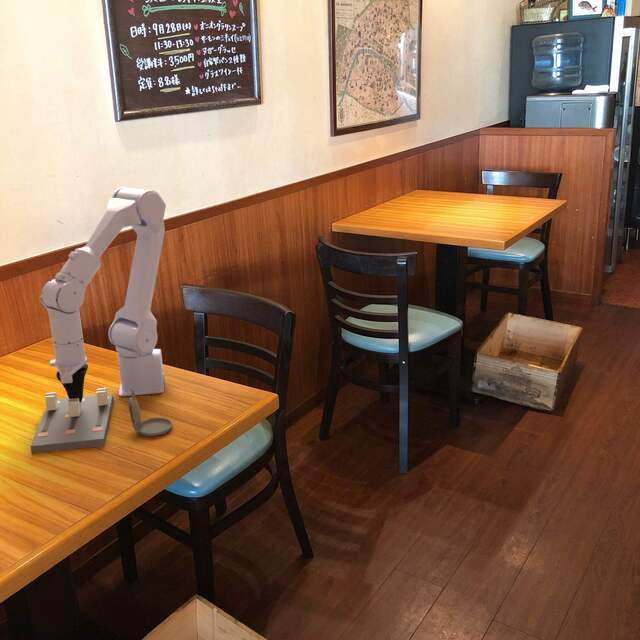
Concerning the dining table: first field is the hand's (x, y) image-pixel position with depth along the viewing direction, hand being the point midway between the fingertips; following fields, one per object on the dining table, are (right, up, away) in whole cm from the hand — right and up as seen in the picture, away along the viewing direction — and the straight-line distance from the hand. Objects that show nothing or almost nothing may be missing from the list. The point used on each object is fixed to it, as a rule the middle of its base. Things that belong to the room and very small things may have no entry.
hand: (76, 401), depth 141 cm
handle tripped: (+1, -2, -3) cm, 4 cm away
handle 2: (+5, -1, +2) cm, 5 cm away
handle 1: (-5, -1, 0) cm, 5 cm away
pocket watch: (+16, -5, -6) cm, 18 cm away
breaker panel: (+1, -4, -3) cm, 5 cm away
